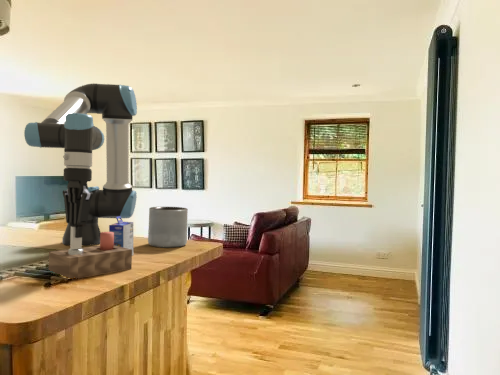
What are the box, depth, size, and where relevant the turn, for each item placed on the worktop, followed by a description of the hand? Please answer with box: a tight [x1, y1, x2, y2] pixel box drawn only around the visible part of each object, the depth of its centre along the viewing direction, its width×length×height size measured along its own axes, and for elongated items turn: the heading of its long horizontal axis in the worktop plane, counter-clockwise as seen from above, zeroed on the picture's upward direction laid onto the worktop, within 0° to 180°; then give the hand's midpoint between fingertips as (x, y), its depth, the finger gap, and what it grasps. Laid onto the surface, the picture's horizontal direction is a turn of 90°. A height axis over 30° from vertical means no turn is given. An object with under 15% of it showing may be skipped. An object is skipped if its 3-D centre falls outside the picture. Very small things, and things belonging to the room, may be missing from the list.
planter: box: [147, 206, 188, 249], centre depth 171 cm, size 16×16×16 cm
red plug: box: [99, 231, 114, 251], centre depth 126 cm, size 4×4×6 cm
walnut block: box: [48, 245, 133, 280], centre depth 123 cm, size 20×12×6 cm, turn 141°
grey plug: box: [67, 247, 84, 255], centre depth 119 cm, size 4×4×6 cm
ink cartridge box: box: [108, 216, 134, 257], centre depth 142 cm, size 10×6×14 cm, turn 176°
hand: (75, 248), depth 119 cm, fingers closed
